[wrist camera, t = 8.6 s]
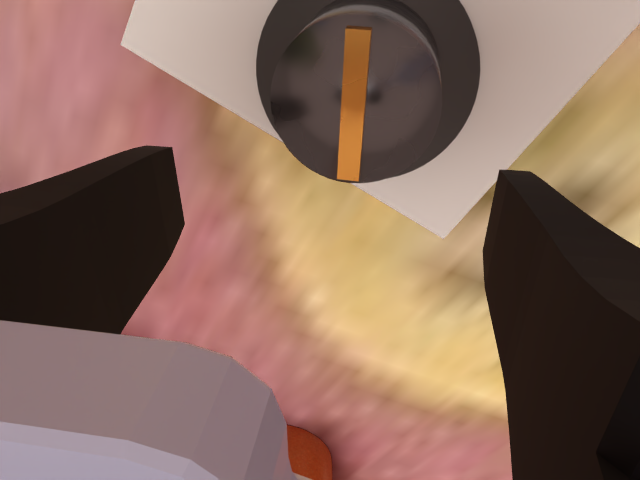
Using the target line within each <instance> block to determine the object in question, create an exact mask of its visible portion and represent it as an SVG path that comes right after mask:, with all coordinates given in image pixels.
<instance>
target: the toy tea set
mask: <svg viewBox="0 0 640 480" xmlns="http://www.w3.org/2000/svg"><path fill="white" fill-rule="evenodd" d="M287 440H288V457H289V461H290V465H291V469H292V472H293V473H296V474H299V475H301V476H304V477H307V478H309V479H312V480H332V459H331V455H330V452H329V450H328V448H327V446H326V445H325V444H324V443H323V442H322V441H321V440H320V439H319V438H318V437H316V436H315V435H313V434H312V433H310V432H308V431H306V430H303V429H301V428H298V427H294V426H290V425H287Z"/></svg>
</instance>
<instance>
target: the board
mask: <svg viewBox="0 0 640 480" xmlns="http://www.w3.org/2000/svg"><path fill="white" fill-rule="evenodd" d="M334 1H336V0H135V2H134V5H133V8H132V11H131V14H130V18H129V21H128V24H127V27H126V30H125V33H124V36H123V39H122V42H121V45H122V46H123V47H125V48H127V49H128V50H130V51H132V52H133V53H135V54H137V55H138V56H140V57H142V58H143V59H145V60H147V61H148V62H150V63H152V64H153V65H155V66H157V67H158V68H160V69H162V70H163V71H165V72H167V73H168V74H170V75H172V76H173V77H175V78H177V79H178V80H180V81H182V82H183V83H185V84H187V85H188V86H190V87H192V88H193V89H195V90H197V91H198V92H200V93H202V94H203V95H205V96H207V97H208V98H210V99H212V100H213V101H215V102H216V103H218V104H220V105H221V106H223V107H225V108H226V109H228V110H230V111H231V112H233V113H235V114H236V115H238V116H240V117H241V118H243V119H245V120H246V121H248V122H250V123H251V124H253V125H255V126H256V127H258V128H260V129H261V130H263V131H265V132H266V133H268V134H270V135H271V136H273V137H275V138H276V139H278V140H280V141H281V142H283V141H282V139H281V137H280V135H279V133H278V131H277V129H276V126H275V123H274V120H273V116H272V111H271V102H270V93H271V84H272V78H273V75H274V72H275V69H276V66H277V64H278V62H279V60H280V58H281V56H282V54H283V53H284V51H285V50H286V48H287V47H288V46H289V45H290V43H291V42H292V41H293V40H294V39H295V38H296V37H297V35H298V34H299V33H300V32H301V31H302V30H303V28H304V27H305V26H306V25H307V24H308V23H309V22H310V20H311V19H312V18H313V17H314V16H315V15H316V14H317V13H318V12H319V11H320V10H322V9H323V8H324V7H326V6H327V5H329V4H330V3H332V2H334ZM398 1H400V2H402V3H404V4H405V5H407V6H408V7H410V8H411V9H412V10H414V11H415V12H416V13H417V14H418V15H419V16H420V17H421V18H422V19H423V20H424V22H425V23H426V25H427V26H428V28H429V29H430V31H431V33H432V35H433V37H434V39H435V42H436V45H437V48H438V52H439V58H440V71H441V86H442V112H441V117H440V122H439V126H438V128H437V131H436V133H435V136H434V138H433V139H432V141H431V143H430V145H429V146H428V148H427V149H426V150H425V152H424V153H423V154H422V155H421V156H420V157H419V158H418V159H417V160H416V161H415V162H414V163H413V164H412V165H410V166H409V167H408V168H406V169H405V170H403V171H402V172H400V173H398V174H396V175H394V176H392V177H390V178H387V179H383V180H380V181H375V182H370V183H351V184H353V185H354V186H356V187H358V188H359V189H361V190H363V191H364V192H366V193H368V194H369V195H371V196H373V197H374V198H376V199H378V200H379V201H381V202H383V203H384V204H386V205H388V206H389V207H391V208H393V209H394V210H396V211H398V212H399V213H401V214H403V215H404V216H406V217H408V218H409V219H411V220H413V221H414V222H416V223H418V224H419V225H421V226H423V227H424V228H426V229H428V230H429V231H431V232H433V233H434V234H436V235H438V236H439V237H441V238H443V239H444V238H445V237H446V236H447V235H448V234H449V233H450V231H451V230H452V229H453V228H454V227H455V226H456V225H457V224H458V223H459V222H460V220H461V219H462V218H463V217H464V216H465V215H466V214H467V213H468V212H469V211H470V209H471V208H472V207H473V206H474V205H475V204H476V203H477V202H478V201H479V200H480V198H481V197H482V196H483V195H484V194H485V193H486V192H487V191H488V190H489V189H490V187H491V186H492V185H493V184H494V183H495V182H496V181H497V178H498V173H499V169H500V170H507V169H508V168H509V167H510V166H511V164H512V163H513V162H514V161H515V160H516V159H517V158H518V157H519V156H520V155H521V153H522V152H523V151H524V150H525V149H526V148H527V147H528V146H529V145H530V144H531V142H532V141H533V140H534V139H535V138H536V137H537V136H538V135H539V134H540V133H541V131H542V130H543V129H544V128H545V127H546V126H547V125H548V124H549V123H550V122H551V120H552V119H553V118H554V117H555V116H556V115H557V114H558V113H559V112H560V111H561V109H562V108H563V107H564V106H565V105H566V104H567V103H568V102H569V101H570V100H571V98H572V97H573V96H574V95H575V94H576V93H577V92H578V91H579V90H580V89H581V87H582V86H583V85H584V84H585V83H586V82H587V81H588V80H589V79H590V78H591V76H592V75H593V74H594V73H595V72H596V71H597V70H598V69H599V68H600V67H601V65H602V64H603V63H604V62H605V61H606V60H607V59H608V58H609V57H610V56H611V54H612V53H613V52H614V51H615V50H616V49H617V48H618V47H619V46H620V45H621V43H622V42H623V41H624V40H625V39H626V38H627V37H628V36H629V35H630V34H631V32H632V31H633V30H634V29H635V28H636V27H637V26H638V25H639V24H640V0H398ZM283 143H284V142H283Z"/></svg>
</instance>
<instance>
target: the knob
mask: <svg viewBox="0 0 640 480" xmlns="http://www.w3.org/2000/svg"><path fill="white" fill-rule="evenodd" d="M270 102H271V111H272V116H273V120H274V123H275V126H276V129H277V131H278V133H279V135H280V137H281V139H282V141H283V142H284V144H285V145H286V147H287V148H288V149H289V151H290V152H291V153H292V154H293V155H294V156H295V157H296V158H297V159H298V160H299V161H300V162H301V163H302V164H304V165H305V166H306V167H308V168H309V169H311V170H312V171H314V172H316V173H318V174H320V175H322V176H324V177H327V178H329V179H333V180H336V181H340V182H346V183H370V182H375V181H380V180H383V179H387V178H390V177H392V176H394V175H396V174H398V173H400V172H402V171H403V170H405V169H406V168H408V167H409V166H410V165H412V164H413V163H414V162H415V161H416V160H417V159H418V158H419V157H420V156H421V155H422V154H423V153H424V152H425V150H426V149H427V148H428V146H429V145H430V143H431V141H432V139H433V138H434V136H435V133H436V131H437V128H438V126H439V122H440V117H441V112H442V86H441V71H440V58H439V52H438V48H437V45H436V42H435V39H434V37H433V35H432V33H431V31H430V29H429V28H428V26H427V25H426V23H425V22H424V20H423V19H422V18H421V17H420V16H419V15H418V14H417V13H416V12H415V11H414V10H412V9H411V8H410V7H408V6H407V5H405V4H404V3H402V2H400V1H398V0H336V1H334V2H332V3H330V4H329V5H327V6H326V7H324V8H323V9H322V10H320V11H319V12H318V13H317V14H316V15H315V16H314V17H313V18H312V19H311V20H310V22H309V23H308V24H307V25H306V26H305V27H304V28H303V30H302V31H301V32H300V33H299V34H298V35H297V37H296V38H295V39H294V40H293V41H292V42H291V43H290V45H289V46H288V47H287V48H286V50H285V51H284V53H283V54H282V56H281V58H280V60H279V62H278V64H277V66H276V69H275V72H274V75H273V78H272V84H271V93H270Z"/></svg>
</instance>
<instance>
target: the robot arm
mask: <svg viewBox="0 0 640 480" xmlns="http://www.w3.org/2000/svg"><path fill="white" fill-rule="evenodd" d="M184 225H185V222H184V216H183V210H182V204H181V198H180V192H179V186H178V180H177V174H176V168H175V162H174V156H173V150H172V147H160V146H142V147H137V148H133V149H130V150H127V151H123V152H120V153H118V154H115V155H112V156H109V157H106V158H104V159H101V160H98V161H96V162H93V163H90V164H88V165H85V166H82V167H80V168H77V169H74V170H72V171H69V172H66V173H63V174H60V175H57V176H54V177H51V178H48V179H45V180H43V181H40V182H37V183H34V184H31V185H28V186H25V187H22V188H18V189H15V190H11V191H8V192H4V193H1V194H0V480H312V479H309V478H307V477H304V476H301V475H299V474H296V473H293V472H292V469H291V465H290V461H289V457H288V440H287V423H286V421H285V419H284V417H283V414H282V412H281V410H280V407H279V405H278V403H277V401H276V398H275V396H274V394H273V392H272V389H271V388H270V387H269V386H268V385H267V384H265V383H264V382H263V381H262V380H260V379H259V378H258V377H257V376H255V375H254V374H253V373H251V372H250V371H249V370H248V369H246V368H245V367H244V366H243V365H241V364H240V363H239V362H237V361H236V360H235V359H234V358H232V357H231V356H228V355H225V354H221V353H218V352H215V351H212V350H209V349H205V348H202V347H199V346H196V345H192V344H189V343H186V342H178V341H170V340H161V339H153V338H145V337H136V336H128V335H120V334H121V332H122V330H123V329H124V327H125V326H126V324H127V322H128V321H129V319H130V318H131V316H132V315H133V313H134V312H135V310H136V309H137V307H138V306H139V304H140V303H141V301H142V300H143V298H144V297H145V295H146V294H147V292H148V291H149V289H150V288H151V286H152V285H153V283H154V282H155V280H156V279H157V277H158V276H159V274H160V273H161V271H162V270H163V268H164V267H165V265H166V263H167V262H168V260H169V259H170V257H171V255H172V253H173V250H174V248H175V246H176V244H177V242H178V239H179V237H180V235H181V232H182V230H183V227H184ZM483 265H484V282H485V291H486V296H487V301H488V306H489V311H490V315H491V320H492V325H493V329H494V334H495V339H496V343H497V348H498V353H499V357H500V362H501V367H502V372H503V378H504V384H505V391H506V401H507V412H508V424H509V435H510V449H511V463H512V476H513V480H640V248H639V247H637V246H635V245H633V244H632V243H630V242H628V241H627V240H625V239H623V238H622V237H620V236H619V235H617V234H616V233H614V232H612V231H611V230H609V229H608V228H606V227H605V226H603V225H602V224H600V223H599V222H597V221H596V220H595V219H593V218H592V217H590V216H589V215H588V214H586V213H585V212H583V211H582V210H581V209H579V208H578V207H577V206H575V205H574V204H573V203H571V202H570V201H569V200H568V199H566V198H565V197H564V196H562V195H561V194H560V193H559V192H557V191H556V190H555V189H554V188H552V187H551V186H550V185H548V184H547V183H546V182H545V181H543V180H542V179H541V178H539V177H538V176H536V175H535V174H533V173H532V172H530V171H515V170H500V169H499V173H498V178H497V183H496V188H495V193H494V198H493V203H492V208H491V212H490V217H489V222H488V227H487V232H486V237H485V242H484V247H483Z"/></svg>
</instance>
